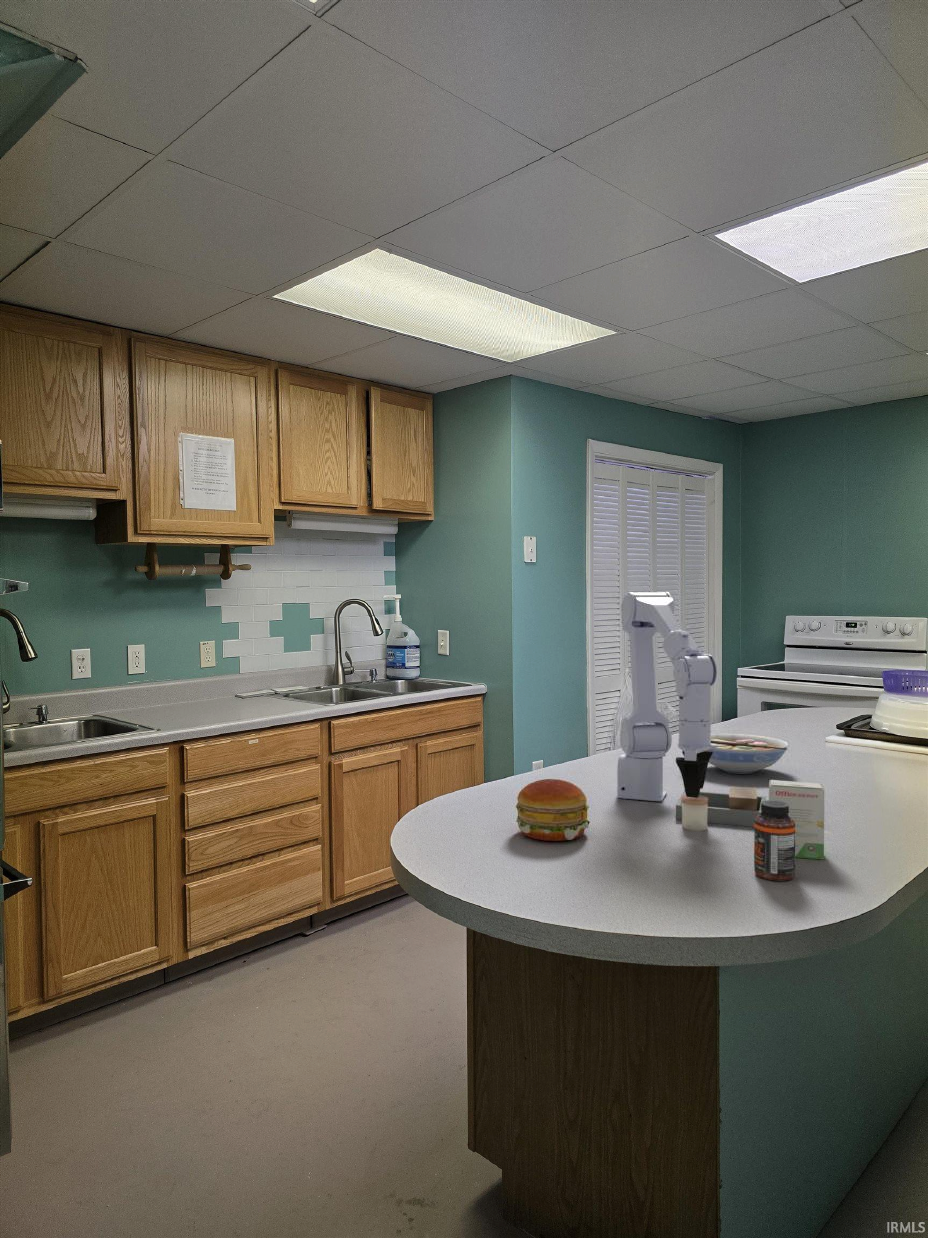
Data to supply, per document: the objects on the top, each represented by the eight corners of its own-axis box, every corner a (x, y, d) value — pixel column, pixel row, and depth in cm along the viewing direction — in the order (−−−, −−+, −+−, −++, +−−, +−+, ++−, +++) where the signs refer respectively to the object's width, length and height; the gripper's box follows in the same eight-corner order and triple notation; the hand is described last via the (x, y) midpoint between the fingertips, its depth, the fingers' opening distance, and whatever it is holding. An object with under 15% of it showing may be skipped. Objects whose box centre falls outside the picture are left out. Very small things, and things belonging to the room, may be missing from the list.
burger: (502, 829, 152) (502, 776, 152) (566, 821, 158) (566, 769, 157) (537, 850, 140) (537, 792, 140) (604, 840, 145) (604, 784, 145)
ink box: (768, 855, 136) (768, 785, 136) (767, 846, 141) (768, 778, 140) (824, 860, 133) (825, 788, 133) (821, 851, 138) (822, 781, 138)
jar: (679, 829, 152) (679, 799, 151) (683, 822, 156) (683, 794, 156) (706, 832, 150) (706, 802, 150) (709, 825, 154) (709, 796, 154)
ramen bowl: (801, 768, 204) (801, 735, 204) (782, 786, 185) (782, 750, 185) (701, 758, 217) (701, 727, 217) (674, 774, 198) (674, 740, 198)
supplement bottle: (747, 870, 129) (747, 798, 128) (783, 868, 129) (784, 797, 129) (764, 883, 123) (764, 808, 123) (802, 882, 123) (802, 807, 123)
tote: (675, 819, 158) (675, 805, 158) (684, 803, 170) (684, 790, 170) (763, 827, 152) (763, 812, 152) (766, 810, 164) (766, 796, 164)
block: (728, 823, 156) (728, 797, 156) (730, 811, 165) (730, 786, 164) (756, 825, 154) (756, 799, 154) (756, 813, 163) (756, 788, 163)
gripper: (713, 726, 144) (713, 803, 144) (720, 715, 157) (720, 785, 158) (672, 724, 147) (672, 799, 147) (682, 714, 160) (683, 783, 160)
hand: (694, 792), depth 153 cm, fingers open, 7 cm apart
